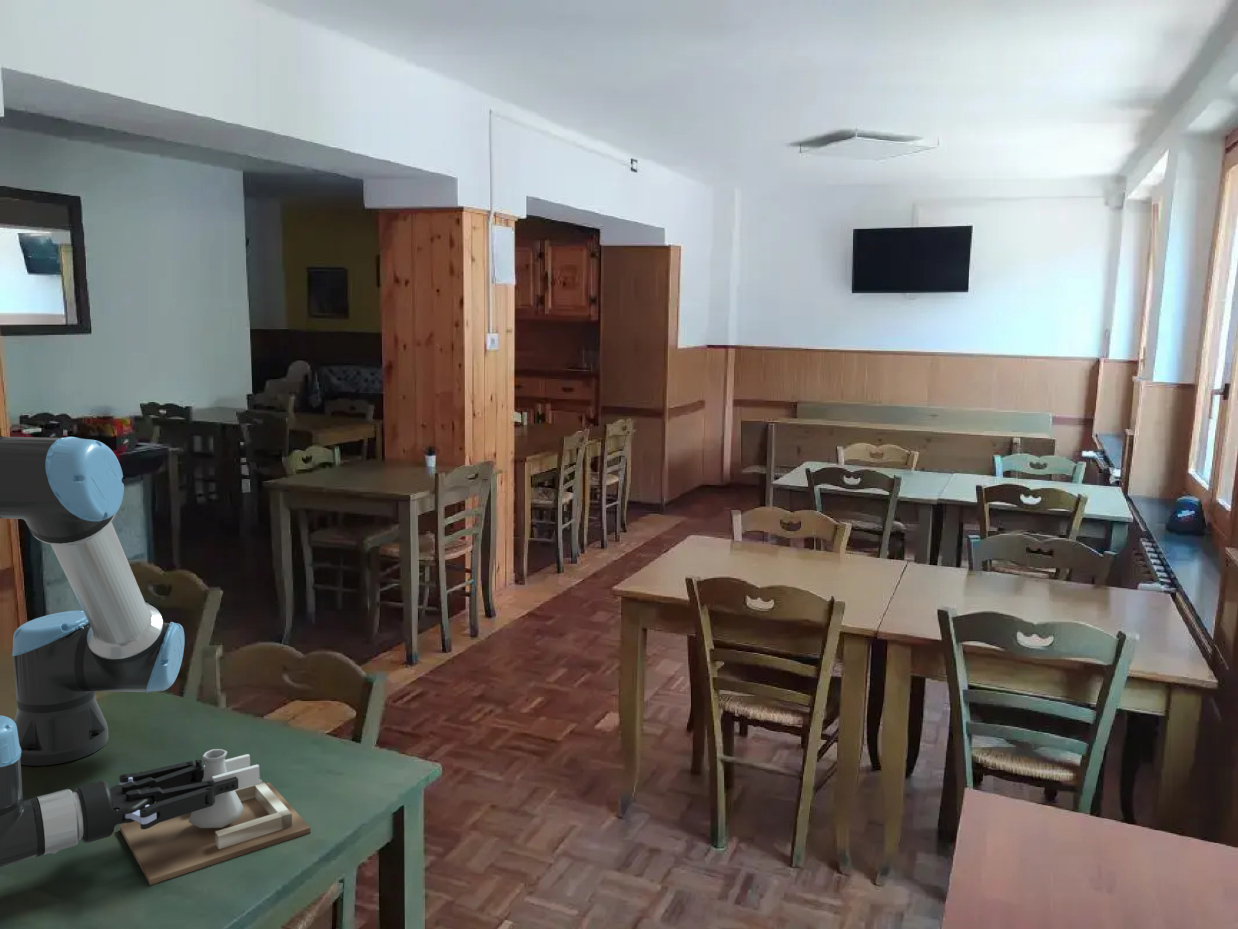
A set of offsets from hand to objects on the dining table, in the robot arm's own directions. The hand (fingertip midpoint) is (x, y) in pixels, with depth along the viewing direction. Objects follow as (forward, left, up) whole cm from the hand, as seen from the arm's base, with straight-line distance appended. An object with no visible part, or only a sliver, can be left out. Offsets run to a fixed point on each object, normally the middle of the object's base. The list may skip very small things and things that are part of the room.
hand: (253, 768), depth 142 cm
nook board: (0, -6, -8) cm, 10 cm away
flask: (0, -6, -6) cm, 8 cm away
